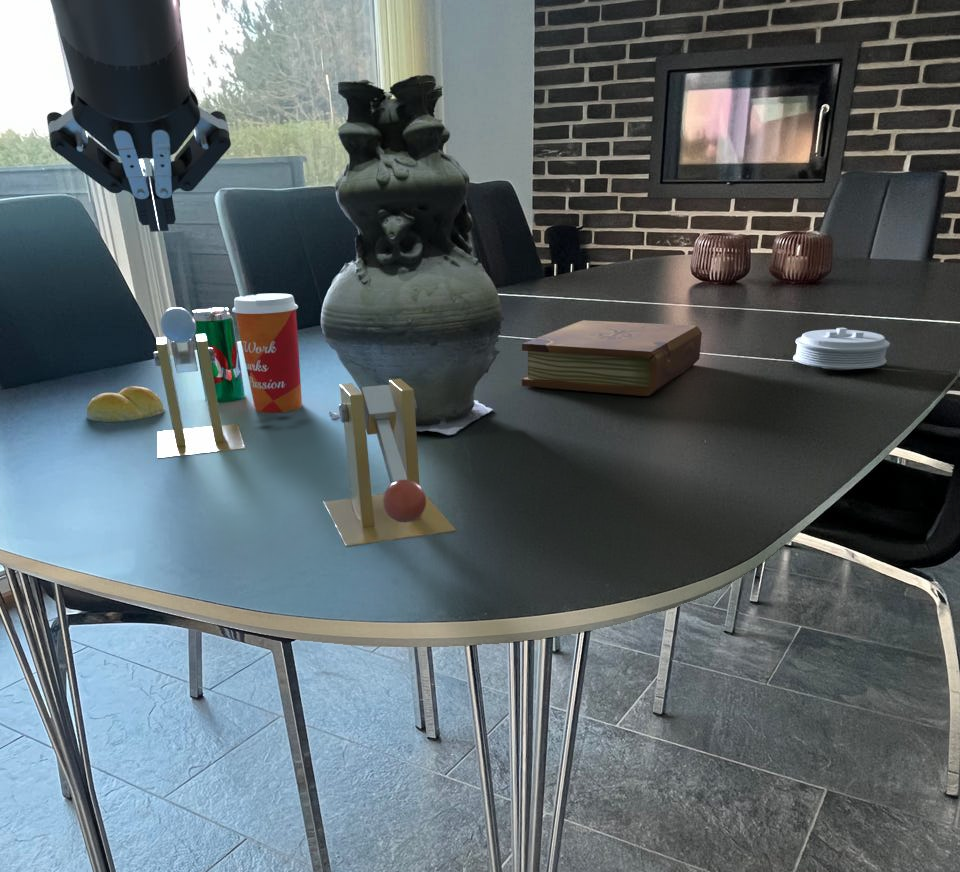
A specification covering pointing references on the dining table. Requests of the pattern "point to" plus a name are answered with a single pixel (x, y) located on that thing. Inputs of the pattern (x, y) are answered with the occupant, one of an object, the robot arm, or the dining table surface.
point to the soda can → (221, 352)
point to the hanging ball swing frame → (180, 438)
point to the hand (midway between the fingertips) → (158, 222)
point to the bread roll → (125, 405)
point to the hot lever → (391, 456)
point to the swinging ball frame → (364, 511)
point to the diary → (612, 356)
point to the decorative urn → (410, 259)
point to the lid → (841, 349)
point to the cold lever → (180, 338)
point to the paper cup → (270, 350)
